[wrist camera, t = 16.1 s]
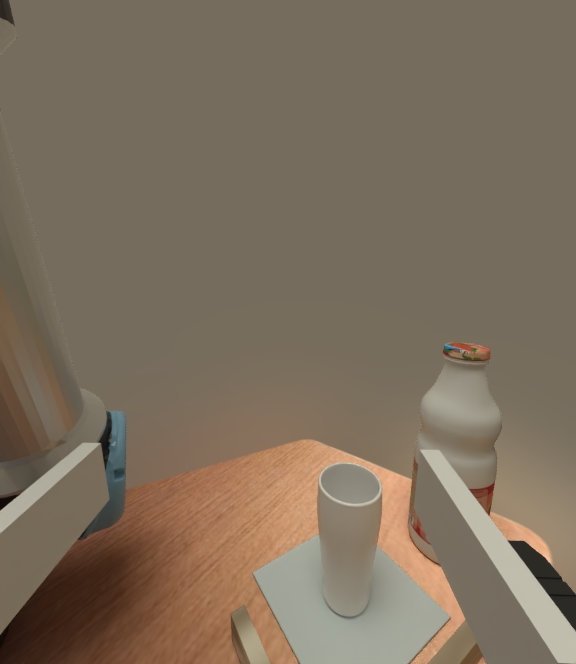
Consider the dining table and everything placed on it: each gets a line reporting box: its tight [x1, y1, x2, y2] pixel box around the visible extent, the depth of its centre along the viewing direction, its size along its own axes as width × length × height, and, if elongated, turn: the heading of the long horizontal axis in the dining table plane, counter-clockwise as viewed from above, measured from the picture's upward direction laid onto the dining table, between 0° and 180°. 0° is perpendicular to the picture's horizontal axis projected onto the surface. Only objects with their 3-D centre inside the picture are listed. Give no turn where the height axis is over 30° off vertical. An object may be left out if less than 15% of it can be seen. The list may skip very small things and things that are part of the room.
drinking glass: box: [317, 462, 382, 617], centre depth 33 cm, size 7×7×15 cm
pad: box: [253, 534, 451, 664], centre depth 35 cm, size 16×16×1 cm
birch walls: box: [231, 605, 483, 664], centre depth 31 cm, size 14×24×4 cm, turn 122°
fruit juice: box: [408, 342, 502, 564], centre depth 39 cm, size 9×9×28 cm
